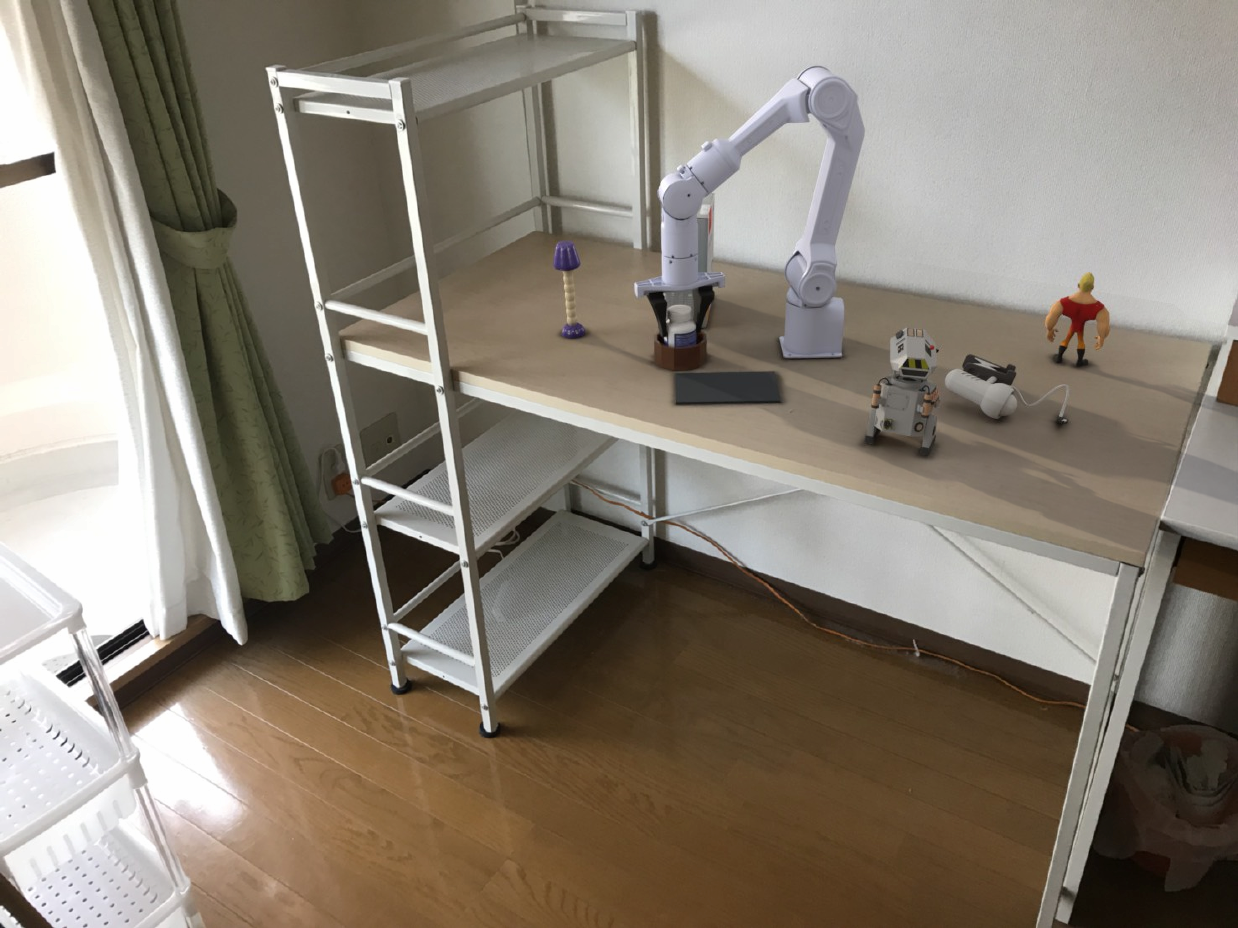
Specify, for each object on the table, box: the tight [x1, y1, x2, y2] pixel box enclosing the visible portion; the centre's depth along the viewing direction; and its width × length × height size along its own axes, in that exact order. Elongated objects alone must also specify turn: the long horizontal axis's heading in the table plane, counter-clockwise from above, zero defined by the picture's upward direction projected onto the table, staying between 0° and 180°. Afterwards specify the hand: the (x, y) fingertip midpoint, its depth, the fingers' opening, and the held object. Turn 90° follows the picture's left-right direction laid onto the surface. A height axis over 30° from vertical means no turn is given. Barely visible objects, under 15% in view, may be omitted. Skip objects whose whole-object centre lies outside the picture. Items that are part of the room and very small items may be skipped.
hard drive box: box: [663, 192, 716, 329], centre depth 177 cm, size 16×8×20 cm, turn 171°
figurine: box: [863, 327, 942, 456], centre depth 137 cm, size 9×12×15 cm
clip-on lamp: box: [944, 353, 1071, 425], centre depth 145 cm, size 12×6×18 cm
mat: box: [674, 370, 782, 405], centre depth 155 cm, size 16×10×1 cm, turn 88°
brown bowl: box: [653, 330, 708, 371], centre depth 164 cm, size 9×9×4 cm
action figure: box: [1044, 272, 1111, 368], centre depth 155 cm, size 10×4×15 cm, turn 59°
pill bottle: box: [664, 305, 696, 347], centre depth 163 cm, size 5×5×9 cm
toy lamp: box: [552, 240, 586, 339], centre depth 171 cm, size 5×5×17 cm
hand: (680, 332), depth 163 cm, fingers closed on pill bottle, 5 cm apart
